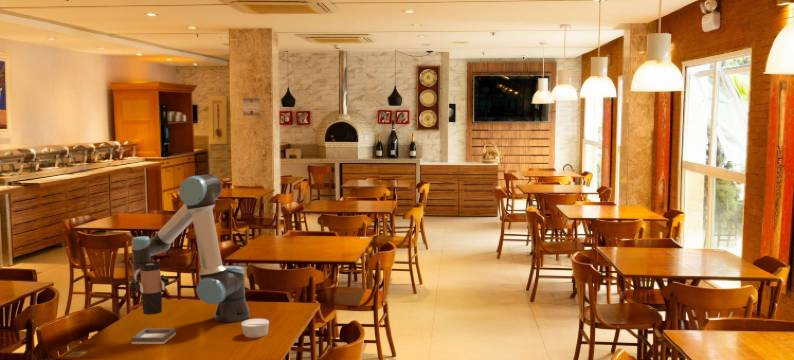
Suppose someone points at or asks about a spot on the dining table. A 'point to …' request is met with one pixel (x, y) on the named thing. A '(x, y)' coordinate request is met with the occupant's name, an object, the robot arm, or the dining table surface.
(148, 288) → the travel mug
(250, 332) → the ramekin
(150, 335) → the mug dock
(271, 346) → the dining table surface
